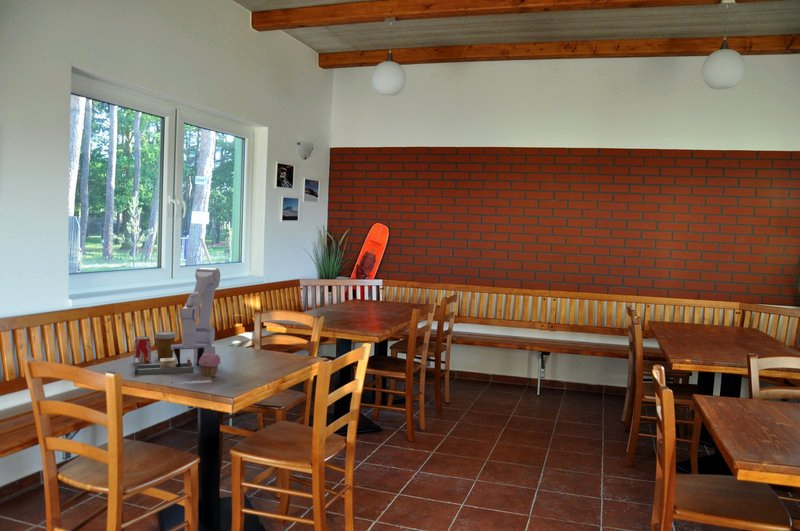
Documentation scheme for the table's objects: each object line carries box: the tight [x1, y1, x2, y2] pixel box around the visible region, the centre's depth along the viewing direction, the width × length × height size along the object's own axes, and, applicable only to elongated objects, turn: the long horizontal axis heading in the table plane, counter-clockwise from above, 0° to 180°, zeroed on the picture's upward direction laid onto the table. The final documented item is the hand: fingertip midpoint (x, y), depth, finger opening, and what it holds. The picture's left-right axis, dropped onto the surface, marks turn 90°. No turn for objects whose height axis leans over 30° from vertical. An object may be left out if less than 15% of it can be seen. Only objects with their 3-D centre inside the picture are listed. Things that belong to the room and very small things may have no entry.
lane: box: [134, 358, 194, 376], centre depth 280 cm, size 23×10×6 cm, turn 112°
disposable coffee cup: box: [154, 330, 177, 360], centre depth 309 cm, size 10×10×12 cm
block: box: [159, 357, 192, 368], centre depth 282 cm, size 12×6×4 cm, turn 112°
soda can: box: [133, 336, 152, 365], centre depth 296 cm, size 7×7×12 cm
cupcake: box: [199, 353, 221, 378], centre depth 276 cm, size 9×9×10 cm
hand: (188, 365), depth 284 cm, fingers open, 7 cm apart
